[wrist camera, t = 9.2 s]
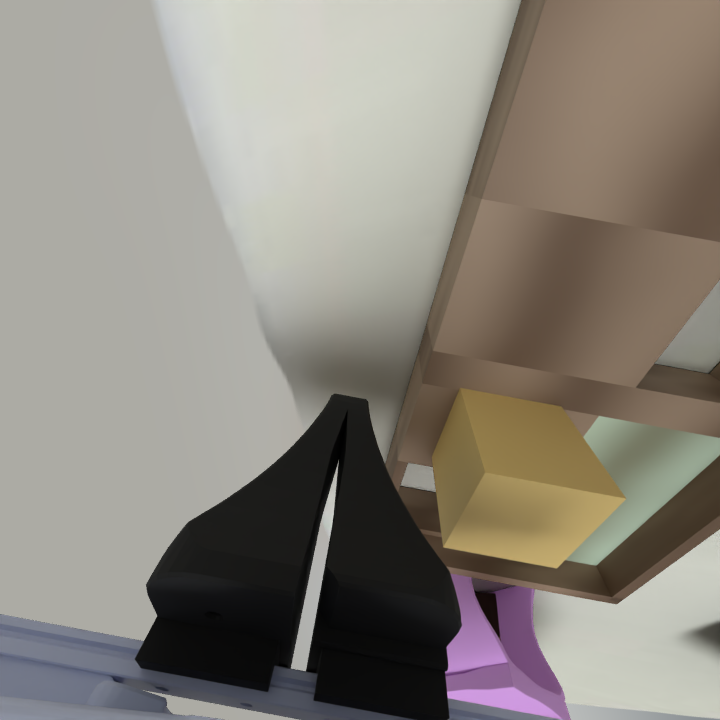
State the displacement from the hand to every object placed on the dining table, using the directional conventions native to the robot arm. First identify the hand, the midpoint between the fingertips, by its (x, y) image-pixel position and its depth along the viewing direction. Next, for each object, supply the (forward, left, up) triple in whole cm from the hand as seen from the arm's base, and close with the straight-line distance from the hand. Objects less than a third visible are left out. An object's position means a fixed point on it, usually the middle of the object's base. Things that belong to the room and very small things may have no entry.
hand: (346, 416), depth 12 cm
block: (-6, 0, -1) cm, 6 cm away
